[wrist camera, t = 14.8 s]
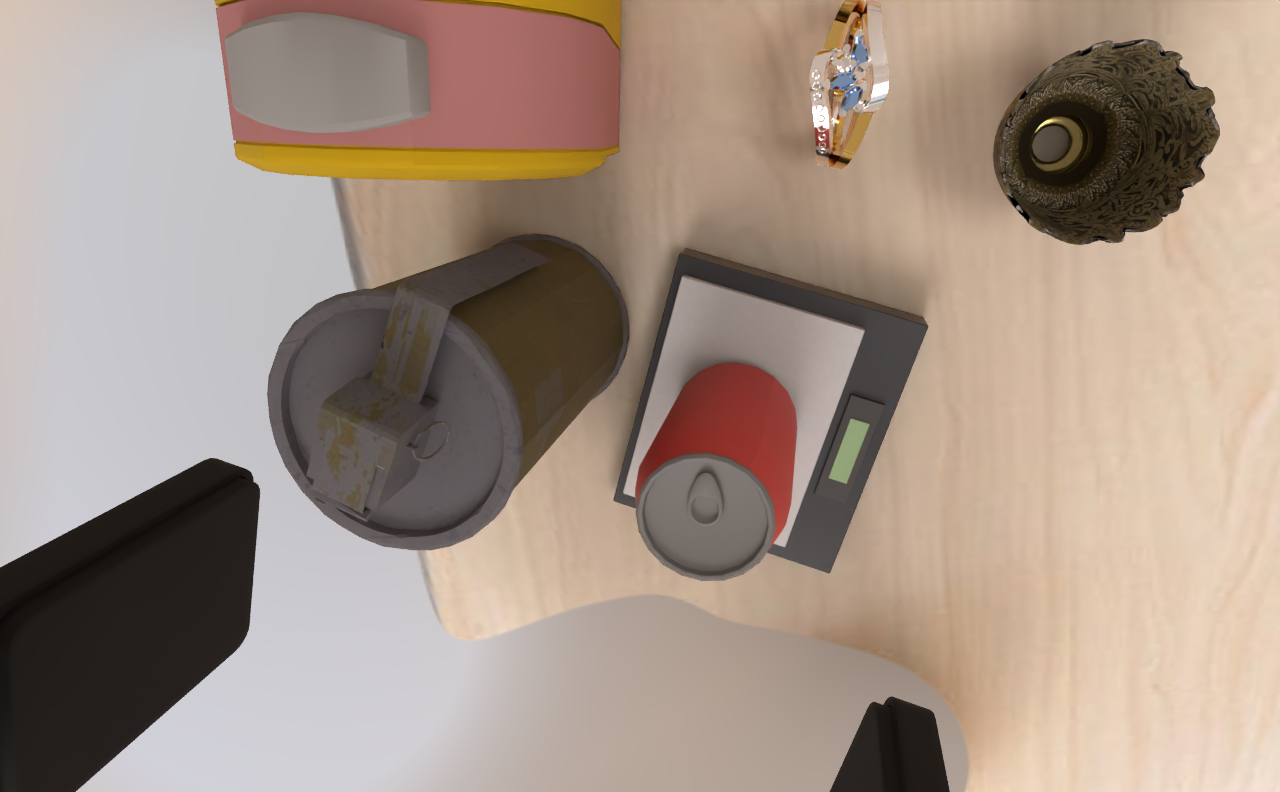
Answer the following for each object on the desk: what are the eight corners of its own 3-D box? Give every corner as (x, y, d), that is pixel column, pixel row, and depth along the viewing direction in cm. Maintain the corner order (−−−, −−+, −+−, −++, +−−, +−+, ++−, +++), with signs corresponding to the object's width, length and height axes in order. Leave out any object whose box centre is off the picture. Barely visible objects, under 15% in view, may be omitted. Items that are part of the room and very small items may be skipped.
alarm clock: (391, 158, 44) (122, 172, 27) (379, -5, 42) (73, -101, 25) (651, 167, 41) (530, 190, 24) (656, -7, 39) (524, -119, 22)
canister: (592, 437, 47) (442, 634, 29) (438, 366, 48) (195, 511, 29) (660, 272, 43) (537, 375, 25) (490, 197, 44) (247, 241, 25)
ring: (833, 5, 37) (836, -27, 30) (901, 20, 37) (920, -8, 29) (791, 155, 40) (784, 159, 32) (853, 170, 39) (860, 178, 32)
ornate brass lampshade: (1171, 154, 36) (1262, 160, 29) (1024, 255, 39) (1072, 283, 31) (1079, 22, 35) (1148, -8, 28) (935, 133, 38) (963, 133, 31)
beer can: (802, 363, 40) (795, 450, 29) (793, 480, 42) (783, 603, 31) (675, 355, 42) (622, 435, 30) (673, 469, 44) (622, 583, 33)
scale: (685, 247, 42) (677, 254, 40) (924, 317, 41) (930, 328, 38) (621, 486, 48) (610, 505, 45) (829, 556, 46) (829, 579, 44)
